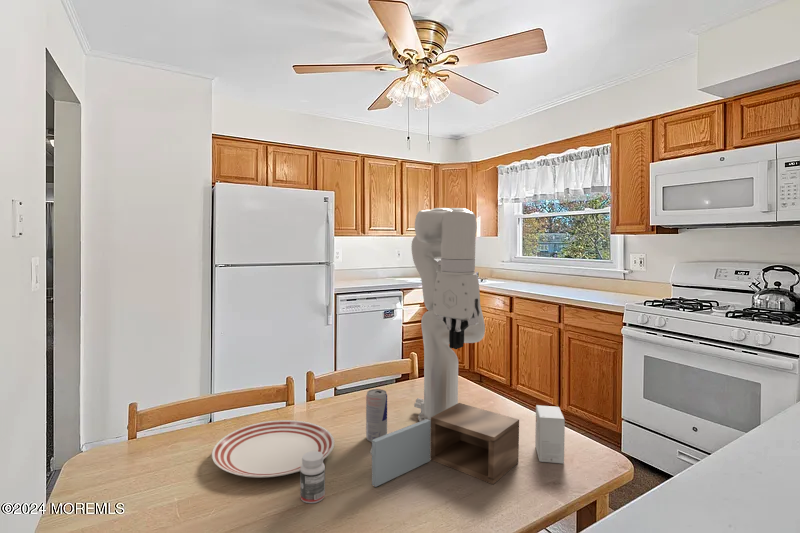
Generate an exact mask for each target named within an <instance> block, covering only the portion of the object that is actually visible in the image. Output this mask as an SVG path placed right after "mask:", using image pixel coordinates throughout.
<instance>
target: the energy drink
mask: <svg viewBox="0 0 800 533" xmlns="http://www.w3.org/2000/svg"><path fill="white" fill-rule="evenodd" d="M365 405H366V406H365V411H366V412H365V413H366V414H365V415H366V416H365V417H366V418H365V422H366V423H365V425H366V426H365V434H366V435H365V437H366V440H367V441H369V442H370V443H372V440H373V439H376V438H378V437H381V436H384V435H386V434H388V394H387V390H384V389H380V388H375V389H374V388H373V389H369V390H368V391H367V392H366V396H365Z"/></svg>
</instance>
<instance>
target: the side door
mask: <svg viewBox="0 0 800 533" xmlns="http://www.w3.org/2000/svg"><path fill="white" fill-rule="evenodd" d="M430 427H431V421H430V420H428V419H425V420H423V421H420V422H419V421H417V422H415V423H412V424H410V425H407V426H405V427H403V428H400V429H397V430H394V431H392V432H389V433H387V434H386V435H384V436H381V437H378V438H376V439H373V440H372V442H371V448H370V449H369V450H370V451H369V453H370V455H371V485H372V486H373V487H375V488H376V487H378V486H381V485H383V484H385V483H387V482H389V481H391V480H393V479H395V478H398V477H399V476H401V475H404V474H406V473H408V472H410V471H412V470H415V469H416V468H418V467H420V466H423V465H425V464H427V463H430V461H431V428H430Z"/></svg>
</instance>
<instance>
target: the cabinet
mask: <svg viewBox="0 0 800 533" xmlns="http://www.w3.org/2000/svg"><path fill="white" fill-rule="evenodd" d="M519 442H520V418H515V417H512V416H509V415H508V416H507V415H504V414H500V413H497V412H493V411H491V410H487V409H482V408H479V407H476V406H472V405H468V404H465V403H461V402H458V404H456V405H454V406H452V407H450V408H448V409H446V410H444V411H442V412H440V413H438V414H436V415H434V416H433V417H431V428H430V461H433V462H436V463H438V464H440V465H443V466H444V467H445V466H446V467H448V468H451V469H453V470H456V471H458V472H461V473H463V474H466V475H468V476H471V477H473V478H476V479H478V480H480V481H483V482H485V483H488V484H492V485H494V484H496V482H498V481H500V479H501V478H503V476H505V475H506V474H507V473H508V472H509V471H510V470H512V468H514V467H515V466H516V465H517V464H519V458H520V457H519V456H520V454H519V448H520V443H519Z"/></svg>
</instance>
